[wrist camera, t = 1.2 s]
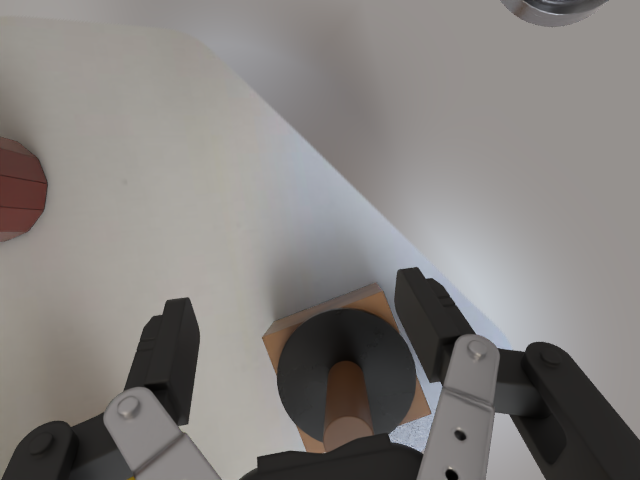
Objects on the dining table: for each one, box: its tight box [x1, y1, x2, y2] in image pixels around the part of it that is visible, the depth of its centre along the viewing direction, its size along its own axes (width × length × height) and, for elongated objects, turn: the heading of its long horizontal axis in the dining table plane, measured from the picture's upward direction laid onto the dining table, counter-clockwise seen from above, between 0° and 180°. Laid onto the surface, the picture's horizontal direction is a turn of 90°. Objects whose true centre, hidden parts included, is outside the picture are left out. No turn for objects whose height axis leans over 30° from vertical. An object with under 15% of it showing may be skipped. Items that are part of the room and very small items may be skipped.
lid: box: [277, 308, 416, 453], centre depth 22 cm, size 10×10×9 cm
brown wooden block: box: [262, 282, 431, 453], centre depth 29 cm, size 10×10×5 cm
